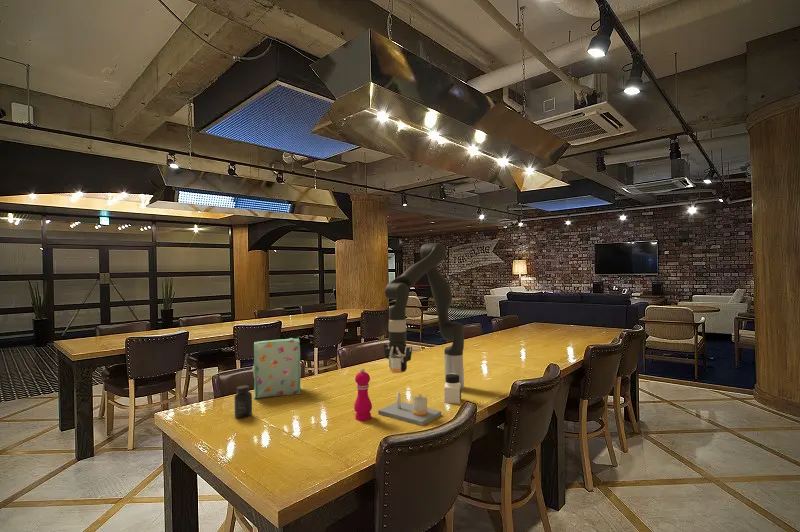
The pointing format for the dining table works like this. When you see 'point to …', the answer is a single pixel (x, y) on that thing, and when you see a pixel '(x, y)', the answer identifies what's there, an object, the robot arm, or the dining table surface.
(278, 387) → the lunch bag
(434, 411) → the pin board
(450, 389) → the medicine bottle
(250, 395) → the supplement bottle
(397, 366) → the sleeve
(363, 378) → the pepper mill
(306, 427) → the dining table surface
